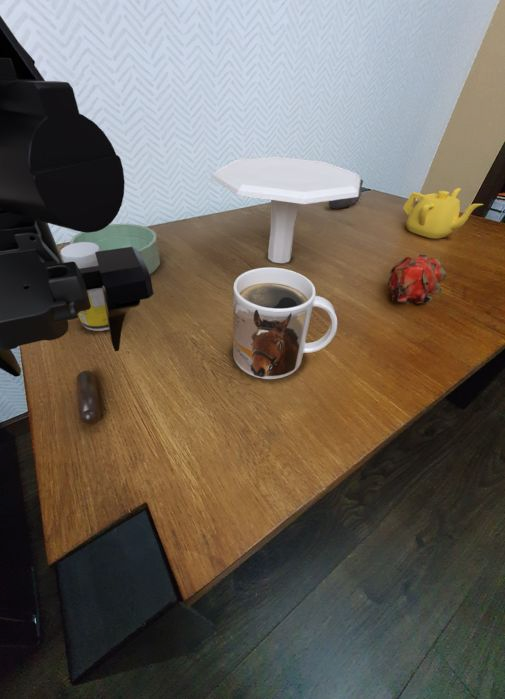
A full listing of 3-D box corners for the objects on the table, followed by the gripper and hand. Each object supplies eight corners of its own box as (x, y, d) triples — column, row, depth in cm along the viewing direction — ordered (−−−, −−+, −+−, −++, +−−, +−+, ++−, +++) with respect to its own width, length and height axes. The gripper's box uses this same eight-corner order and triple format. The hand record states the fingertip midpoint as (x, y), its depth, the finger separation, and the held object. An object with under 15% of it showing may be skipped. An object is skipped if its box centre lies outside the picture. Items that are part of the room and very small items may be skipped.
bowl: (82, 292, 54) (71, 262, 50) (77, 255, 64) (67, 229, 60) (169, 276, 59) (164, 248, 55) (151, 245, 69) (147, 220, 65)
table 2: (366, 257, 69) (392, 173, 58) (298, 310, 52) (315, 207, 41) (267, 224, 81) (272, 150, 70) (186, 258, 65) (177, 169, 54)
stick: (84, 431, 34) (77, 420, 32) (79, 380, 39) (73, 369, 37) (103, 424, 34) (98, 413, 33) (96, 376, 39) (91, 365, 38)
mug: (265, 322, 49) (271, 257, 42) (331, 358, 44) (351, 291, 36) (218, 355, 43) (215, 286, 36) (287, 401, 38) (300, 331, 30)
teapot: (464, 244, 77) (486, 202, 70) (409, 239, 77) (426, 197, 71) (443, 224, 87) (461, 185, 80) (395, 220, 88) (409, 182, 81)
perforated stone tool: (334, 213, 90) (339, 187, 85) (320, 208, 93) (324, 183, 88) (363, 204, 97) (369, 180, 93) (349, 200, 100) (354, 176, 96)
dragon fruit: (424, 295, 61) (389, 324, 56) (400, 259, 61) (362, 286, 56) (466, 275, 53) (429, 308, 48) (438, 235, 53) (398, 263, 48)
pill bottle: (82, 312, 49) (54, 241, 42) (125, 305, 51) (105, 236, 44) (81, 336, 45) (49, 263, 37) (127, 328, 47) (106, 256, 39)
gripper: (-296, 280, 13) (-60, 462, 24) (150, 225, 20) (179, 387, 30) (-173, 201, 20) (-35, 366, 31) (122, 180, 27) (153, 323, 37)
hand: (70, 360), depth 32 cm, fingers open, 9 cm apart
